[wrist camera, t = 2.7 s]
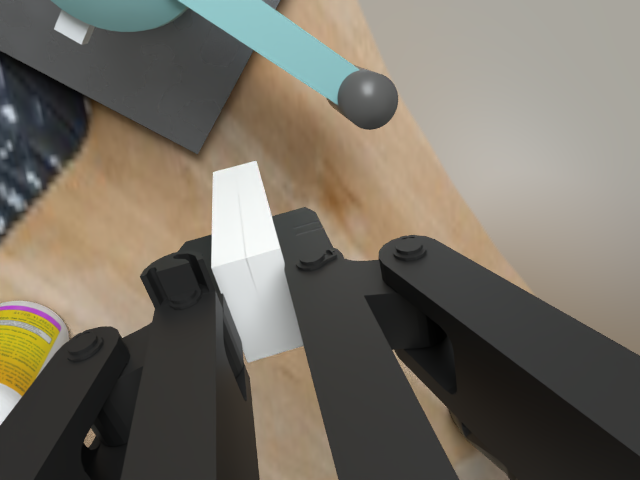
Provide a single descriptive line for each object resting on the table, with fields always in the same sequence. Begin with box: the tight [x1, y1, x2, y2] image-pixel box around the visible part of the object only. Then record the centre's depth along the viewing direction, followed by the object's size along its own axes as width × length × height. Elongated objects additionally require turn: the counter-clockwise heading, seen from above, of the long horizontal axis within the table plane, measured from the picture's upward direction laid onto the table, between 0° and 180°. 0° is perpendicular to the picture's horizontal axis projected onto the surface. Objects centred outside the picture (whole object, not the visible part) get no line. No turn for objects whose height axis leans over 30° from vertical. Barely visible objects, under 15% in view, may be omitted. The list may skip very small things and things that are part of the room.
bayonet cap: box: [51, 0, 398, 130], centre depth 21 cm, size 18×10×5 cm, turn 58°
